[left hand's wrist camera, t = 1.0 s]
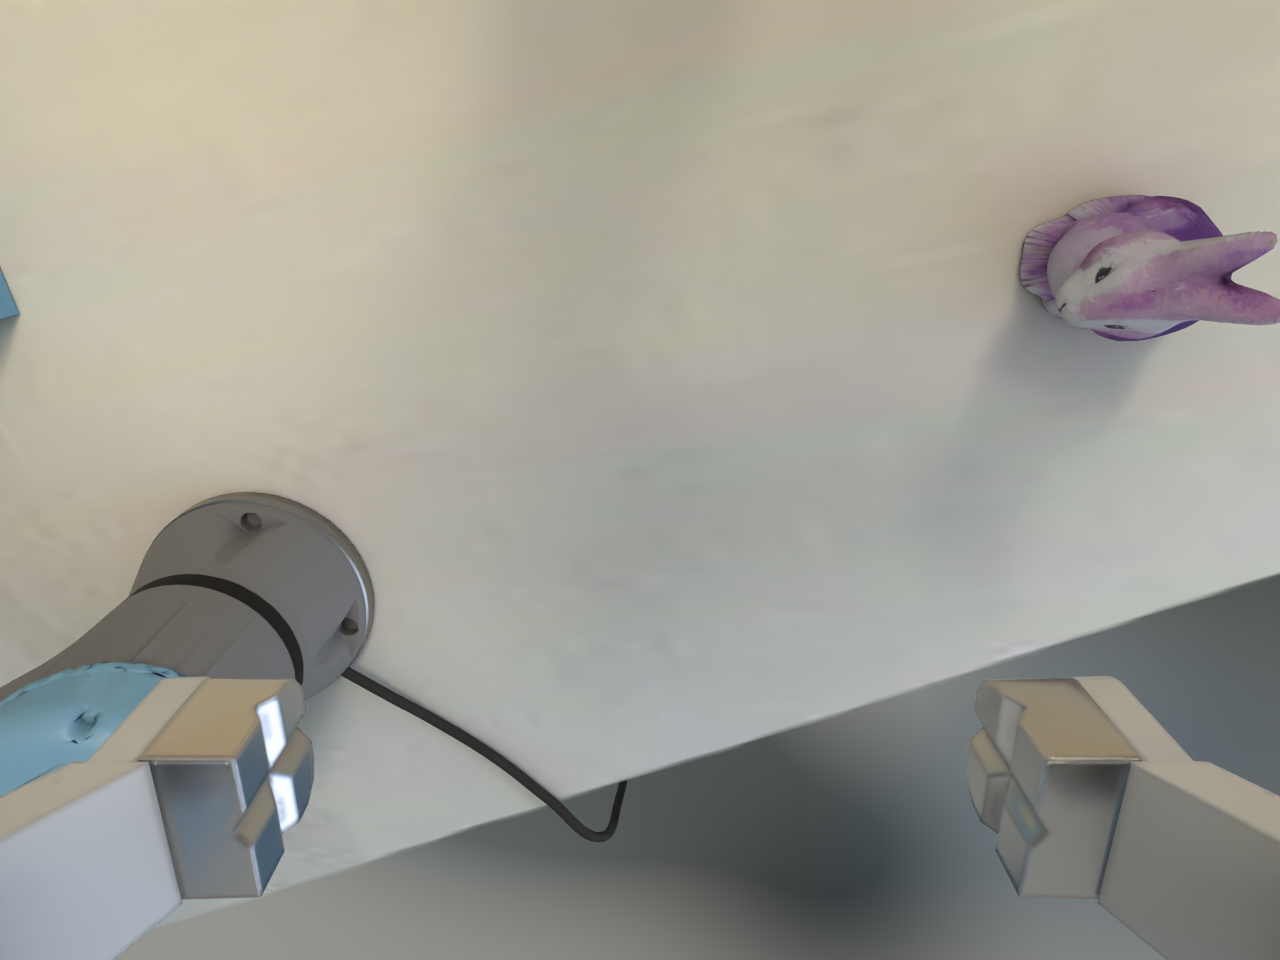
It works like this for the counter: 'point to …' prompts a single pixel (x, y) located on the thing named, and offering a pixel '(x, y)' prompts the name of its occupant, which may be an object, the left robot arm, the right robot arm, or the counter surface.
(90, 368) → the counter surface
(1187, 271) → the figurine
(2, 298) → the cabinet
